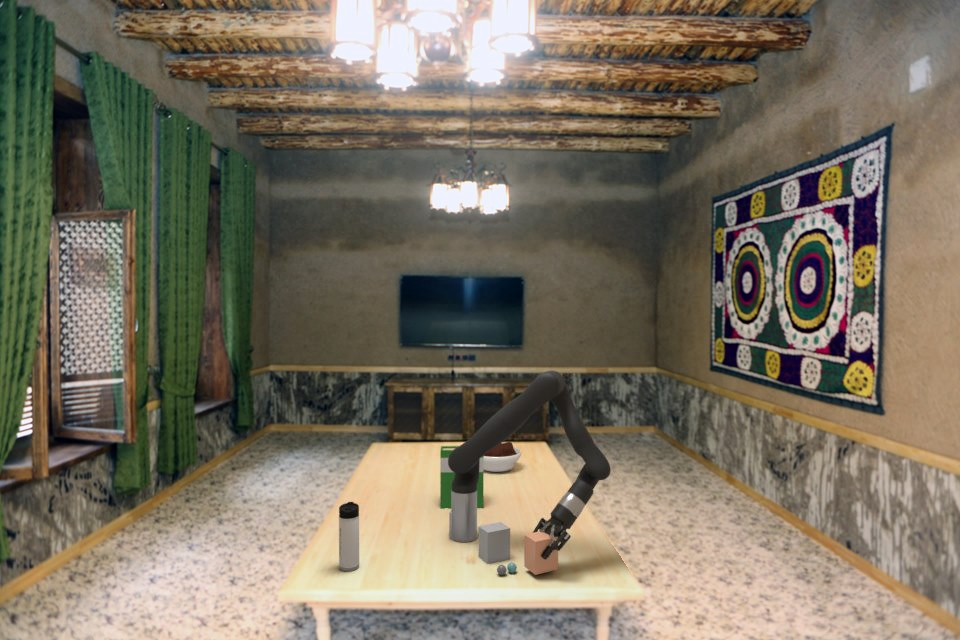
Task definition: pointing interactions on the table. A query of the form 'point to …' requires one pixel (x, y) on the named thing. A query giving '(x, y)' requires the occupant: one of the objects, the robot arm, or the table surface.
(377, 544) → the table surface
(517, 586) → the table surface
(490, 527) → the grey upright block
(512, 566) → the marble teal
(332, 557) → the table surface
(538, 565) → the terracotta clay block
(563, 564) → the table surface
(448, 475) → the hardback book
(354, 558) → the travel mug
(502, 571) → the marble charcoal
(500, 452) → the chocolate pudding bowl
